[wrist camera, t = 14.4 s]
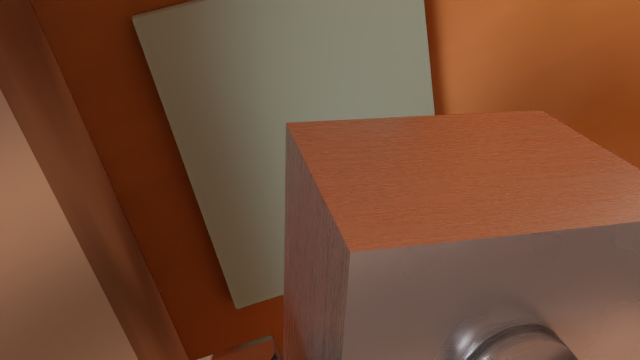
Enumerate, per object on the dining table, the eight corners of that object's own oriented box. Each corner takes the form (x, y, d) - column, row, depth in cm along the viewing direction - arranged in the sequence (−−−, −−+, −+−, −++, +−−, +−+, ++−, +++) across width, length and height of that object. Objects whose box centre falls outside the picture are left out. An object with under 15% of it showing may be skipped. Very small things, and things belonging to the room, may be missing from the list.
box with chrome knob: (480, 368, 12) (598, 551, 9) (282, 400, 11) (330, 620, 8) (540, 110, 9) (745, 231, 6) (285, 122, 8) (362, 276, 5)
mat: (441, 235, 18) (447, 242, 18) (234, 301, 17) (236, 309, 17) (412, -54, 14) (418, -53, 13) (132, 15, 13) (131, 18, 13)
